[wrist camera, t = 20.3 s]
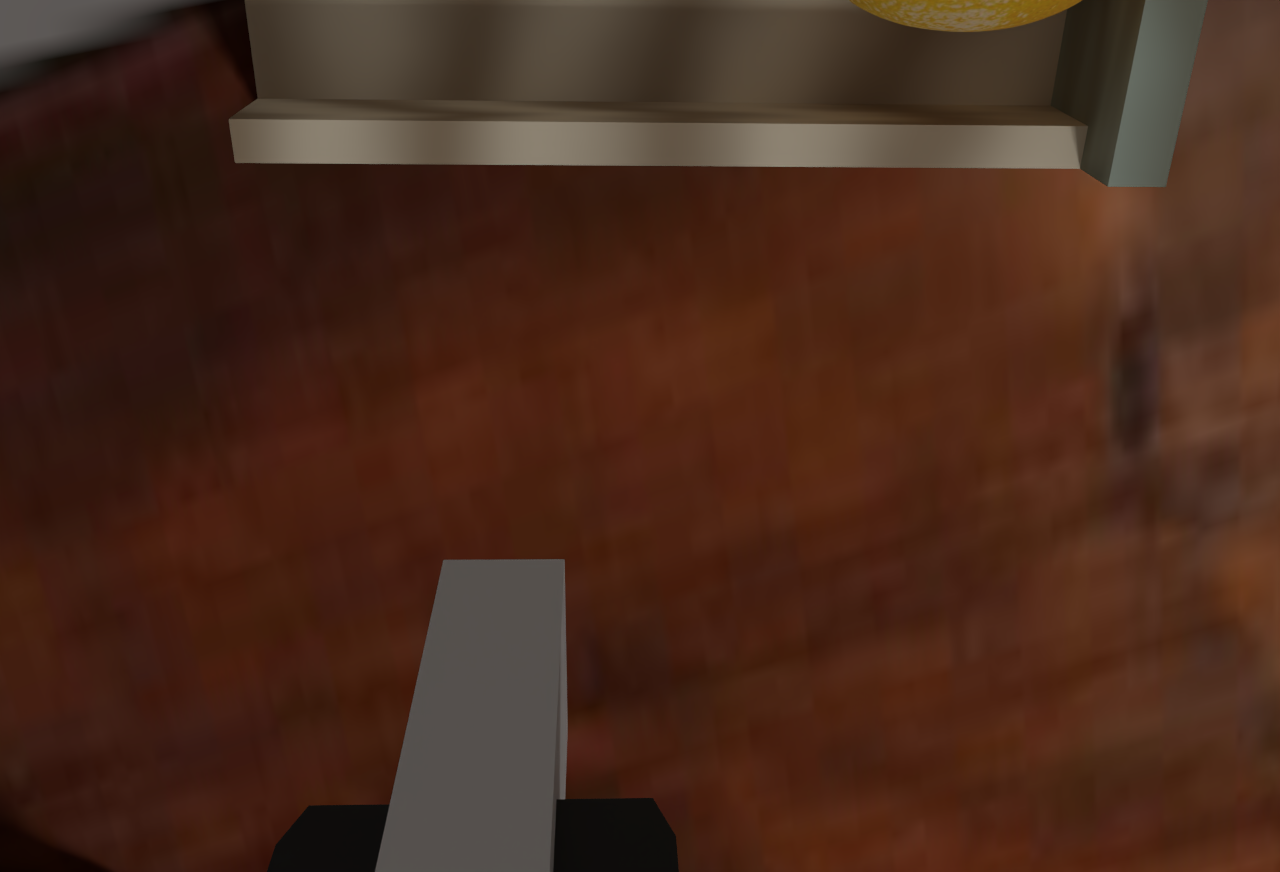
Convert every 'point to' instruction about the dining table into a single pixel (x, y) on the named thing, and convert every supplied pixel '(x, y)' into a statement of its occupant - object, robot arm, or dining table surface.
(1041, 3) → the fruit
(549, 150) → the channel
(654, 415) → the dining table surface
